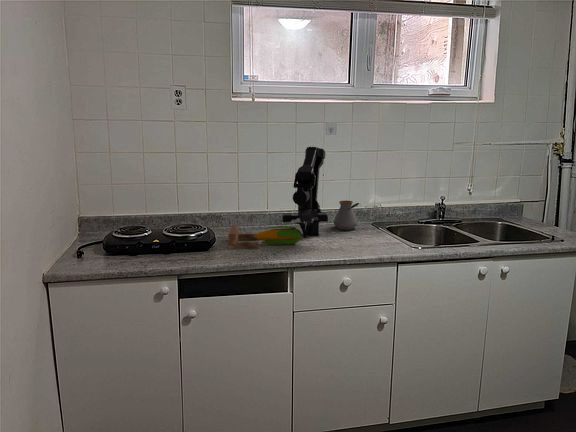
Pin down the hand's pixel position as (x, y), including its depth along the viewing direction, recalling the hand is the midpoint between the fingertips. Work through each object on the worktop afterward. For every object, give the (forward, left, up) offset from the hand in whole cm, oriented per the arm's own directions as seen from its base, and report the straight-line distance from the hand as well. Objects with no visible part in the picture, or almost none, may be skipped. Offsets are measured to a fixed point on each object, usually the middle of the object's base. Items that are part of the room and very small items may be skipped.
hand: (304, 237), depth 203 cm
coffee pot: (-22, -23, -3) cm, 32 cm away
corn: (+11, 0, -3) cm, 11 cm away
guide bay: (+25, 0, -3) cm, 25 cm away
